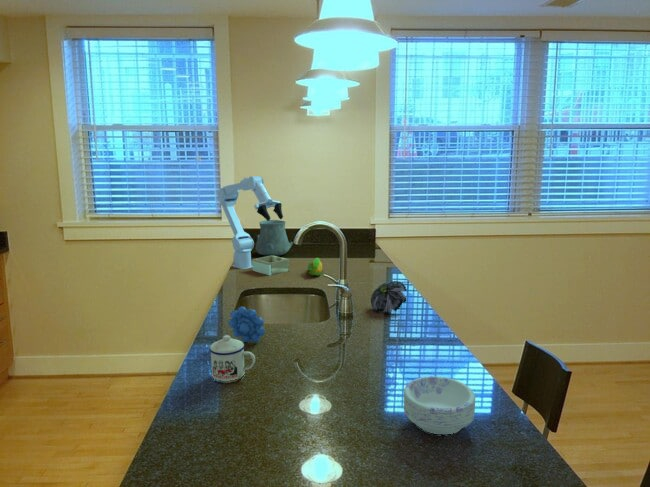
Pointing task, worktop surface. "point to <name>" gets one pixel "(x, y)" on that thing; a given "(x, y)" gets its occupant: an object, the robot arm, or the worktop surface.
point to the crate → (276, 264)
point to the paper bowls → (439, 404)
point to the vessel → (272, 238)
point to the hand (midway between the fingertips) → (275, 218)
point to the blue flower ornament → (246, 324)
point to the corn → (315, 267)
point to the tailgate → (261, 266)
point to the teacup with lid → (229, 359)
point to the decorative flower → (388, 297)
